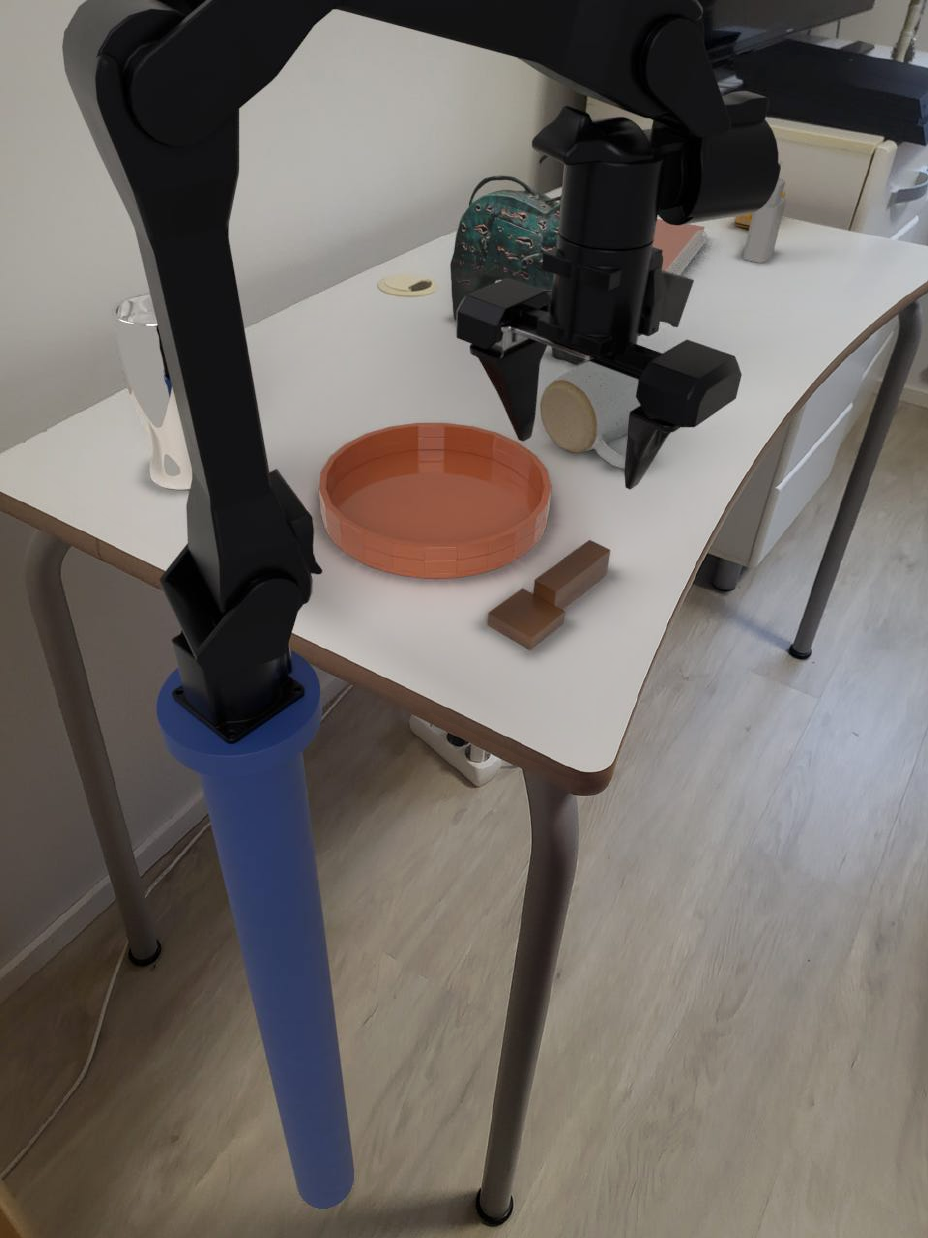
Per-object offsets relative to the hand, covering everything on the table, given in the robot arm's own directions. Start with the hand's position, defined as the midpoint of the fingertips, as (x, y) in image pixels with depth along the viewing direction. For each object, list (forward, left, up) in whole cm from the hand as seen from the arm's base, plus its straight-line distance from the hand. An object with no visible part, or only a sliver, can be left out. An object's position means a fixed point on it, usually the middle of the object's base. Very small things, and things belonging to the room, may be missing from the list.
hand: (576, 461), depth 66 cm
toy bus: (+91, +31, -11) cm, 96 cm away
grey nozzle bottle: (+78, +24, -11) cm, 82 cm away
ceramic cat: (+33, +30, -11) cm, 46 cm away
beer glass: (-10, +34, -11) cm, 37 cm away
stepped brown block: (-2, -1, -11) cm, 11 cm away
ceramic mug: (+20, +10, -11) cm, 25 cm away
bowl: (+1, +14, -11) cm, 18 cm away
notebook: (+63, +36, -11) cm, 73 cm away
